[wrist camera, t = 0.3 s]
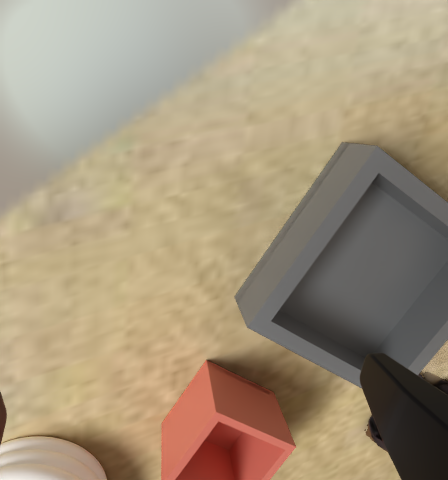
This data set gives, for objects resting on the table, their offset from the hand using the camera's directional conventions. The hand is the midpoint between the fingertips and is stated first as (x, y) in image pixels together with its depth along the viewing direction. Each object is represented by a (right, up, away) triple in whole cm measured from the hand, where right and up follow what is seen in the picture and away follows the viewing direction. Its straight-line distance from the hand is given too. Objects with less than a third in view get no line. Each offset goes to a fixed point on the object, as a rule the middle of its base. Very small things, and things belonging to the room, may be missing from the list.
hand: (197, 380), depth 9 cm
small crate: (0, -9, +18) cm, 20 cm away
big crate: (+10, +2, +17) cm, 19 cm away
